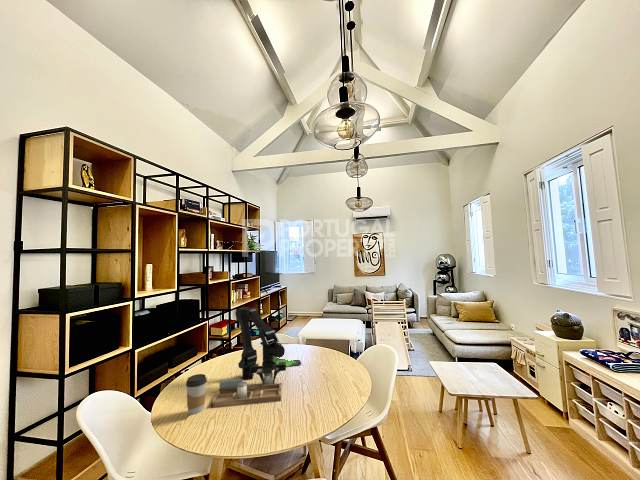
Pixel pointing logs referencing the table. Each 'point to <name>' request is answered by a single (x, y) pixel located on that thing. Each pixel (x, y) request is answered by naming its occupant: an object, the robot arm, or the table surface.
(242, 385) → the pin
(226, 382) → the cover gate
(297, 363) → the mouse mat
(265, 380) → the grey pin
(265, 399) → the tray
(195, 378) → the coffee cup
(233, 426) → the table surface
